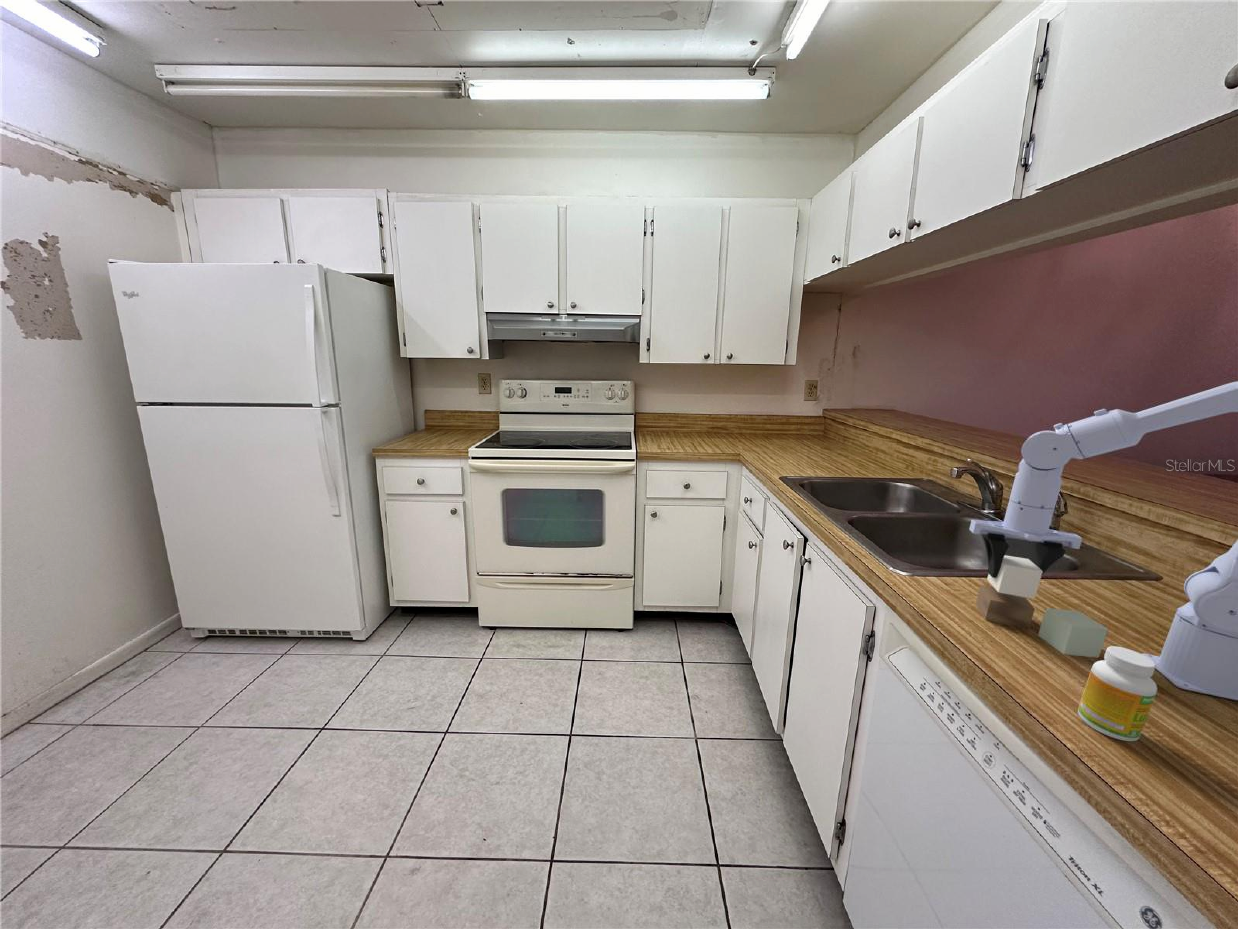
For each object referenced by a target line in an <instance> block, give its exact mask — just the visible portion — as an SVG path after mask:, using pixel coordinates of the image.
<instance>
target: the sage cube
mask: <svg viewBox="0 0 1238 929" xmlns="http://www.w3.org/2000/svg"><path fill="white" fill-rule="evenodd" d="M1108 631H1109V628H1107V627H1105V625H1103V624H1101V623H1099V622H1097V621H1096V620H1094V619H1093V618H1091V617H1090V616H1088V615H1086V614H1085V613H1083V612H1081V611H1080V610H1069V609H1059V608H1045V610H1044V614H1043V617H1042V621H1041V624H1040V628H1039V632H1038V635H1037V636H1038V637H1040V638H1041V639H1043V641H1045V642H1047V643H1048V644H1049V645H1051V646H1052V647H1053V648H1054V649H1056V650H1057V651H1059V652H1060V653H1062V654H1063V655H1068V656H1077V657H1078V656H1079V657H1086V658H1087V657H1088V658H1089V657H1090V658H1099V657H1100V654H1101V651H1102V649H1103V647H1104V643H1105V640H1106V636H1107V633H1108Z"/></svg>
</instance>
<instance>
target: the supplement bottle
mask: <svg viewBox="0 0 1238 929" xmlns="http://www.w3.org/2000/svg"><path fill="white" fill-rule="evenodd" d="M1103 658H1104V659H1103V660H1098V661H1096V662H1094V663H1093V664H1092V666H1091V669H1090V673H1089V675H1088V678H1087V681H1086V685H1085V687H1084V691H1083V693H1082V696H1081V699H1080V702H1079V704H1078V705H1079V706H1078V709H1077V714H1078V716H1079V717H1080V719H1081V720H1082V721H1083V722H1084V723H1086V724H1087V726H1089V727H1091V728H1092V729H1094V730H1095V731H1098V732H1099V733H1101V734H1103V735H1105V736H1108V737H1110V738H1113V739H1116V740H1119V741H1122V742H1123V741H1124V742H1136V741H1138V740H1139V739H1140V737H1141V735H1142V732H1143V730H1144V726H1145V725H1146V722H1147V719H1148V717H1149V714H1150V711H1151V709H1152V705H1153V702H1154V700H1155V699H1156V698H1155V697H1156V695H1157V692H1158V687H1157V686H1158V685H1157V683H1156V682H1155V681H1154V679H1153V678H1151V677H1153V675H1154V672H1155V669H1156V668H1155V667H1156V665H1155V663H1154V662H1153V661H1152V660H1151V659H1149V658H1148V657H1146V656H1144V655H1142V653H1140V652H1138V651H1136V650H1135V651H1134V650H1132V649H1129V648H1126V647H1122V646H1115V645H1112V646H1108V647H1106V651H1105V653H1104V656H1103Z"/></svg>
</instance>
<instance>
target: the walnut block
mask: <svg viewBox="0 0 1238 929" xmlns="http://www.w3.org/2000/svg"><path fill="white" fill-rule="evenodd" d="M975 605H976V607H977V608H978V610H979V612H980V613H981V615H982V617H983V619H984V620H985V621H989V622H993V623H994V622H995V623H997V624H998V623H999V624H1002V623H1003V625H1008V626H1012V627H1016V628H1021V629H1026V630H1030V628H1031V623H1032V619H1033V617H1034V613H1035V610H1036V608H1035V607H1034V606H1033V605H1032V604H1031V602H1030V601H1029V600H1028V599H1027V597H1022V596H1016V595H1010V594H1005V593H999V592H998V591H997V590H996V589H995V588H994V587H993V586H988V585H983V584H980V586H979V590H978V594H977V598H976V602H975Z"/></svg>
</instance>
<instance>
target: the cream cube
mask: <svg viewBox="0 0 1238 929" xmlns="http://www.w3.org/2000/svg"><path fill="white" fill-rule="evenodd" d="M1030 560H1031V559H1029V558H1024V557H1019V556H1018V557H1017V556H1012V555H1006V554H1005V555H1004V558H1003V560H1002V564H1001V568H1000V571H999V573H998V576H997V578H993V577H991V576H990V574H989V573H988V575H987V578H986V579H987V581H988V582H989V583H990V584H991V587H994V588H995V589H996V590H997V591H998V592H999V593H1005V594H1010V595H1016V596H1022V597H1025V598H1026V599H1027V598H1029V599H1033V600H1034V599H1036V596H1037V592H1038V588H1039V585H1040V582H1041V578H1042V576H1043V575H1042V572H1043V571H1042V570H1041V569H1040V568H1038V567H1037V566H1036V565H1035V564H1034V563H1033V562H1031V561H1030ZM1041 575H1042V576H1041Z"/></svg>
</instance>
